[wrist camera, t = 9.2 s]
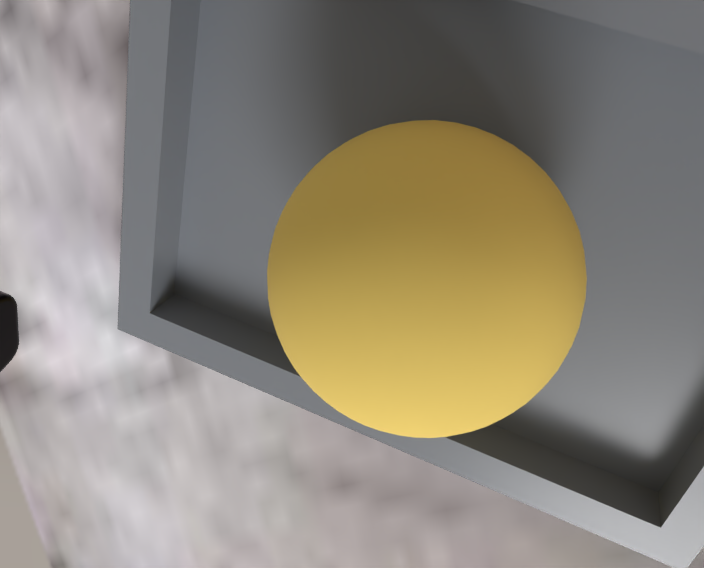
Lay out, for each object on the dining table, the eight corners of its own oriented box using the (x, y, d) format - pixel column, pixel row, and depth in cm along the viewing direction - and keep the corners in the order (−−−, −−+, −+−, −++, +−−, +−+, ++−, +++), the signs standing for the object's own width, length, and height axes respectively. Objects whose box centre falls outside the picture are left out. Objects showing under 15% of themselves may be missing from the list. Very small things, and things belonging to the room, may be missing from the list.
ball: (638, 140, 13) (656, 265, 8) (533, 369, 17) (499, 560, 12) (361, 55, 14) (229, 121, 9) (311, 285, 18) (191, 427, 13)
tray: (999, 57, 12) (1062, 78, 10) (678, 512, 18) (684, 572, 16) (192, -154, 15) (136, -166, 13) (158, 297, 21) (117, 329, 19)
